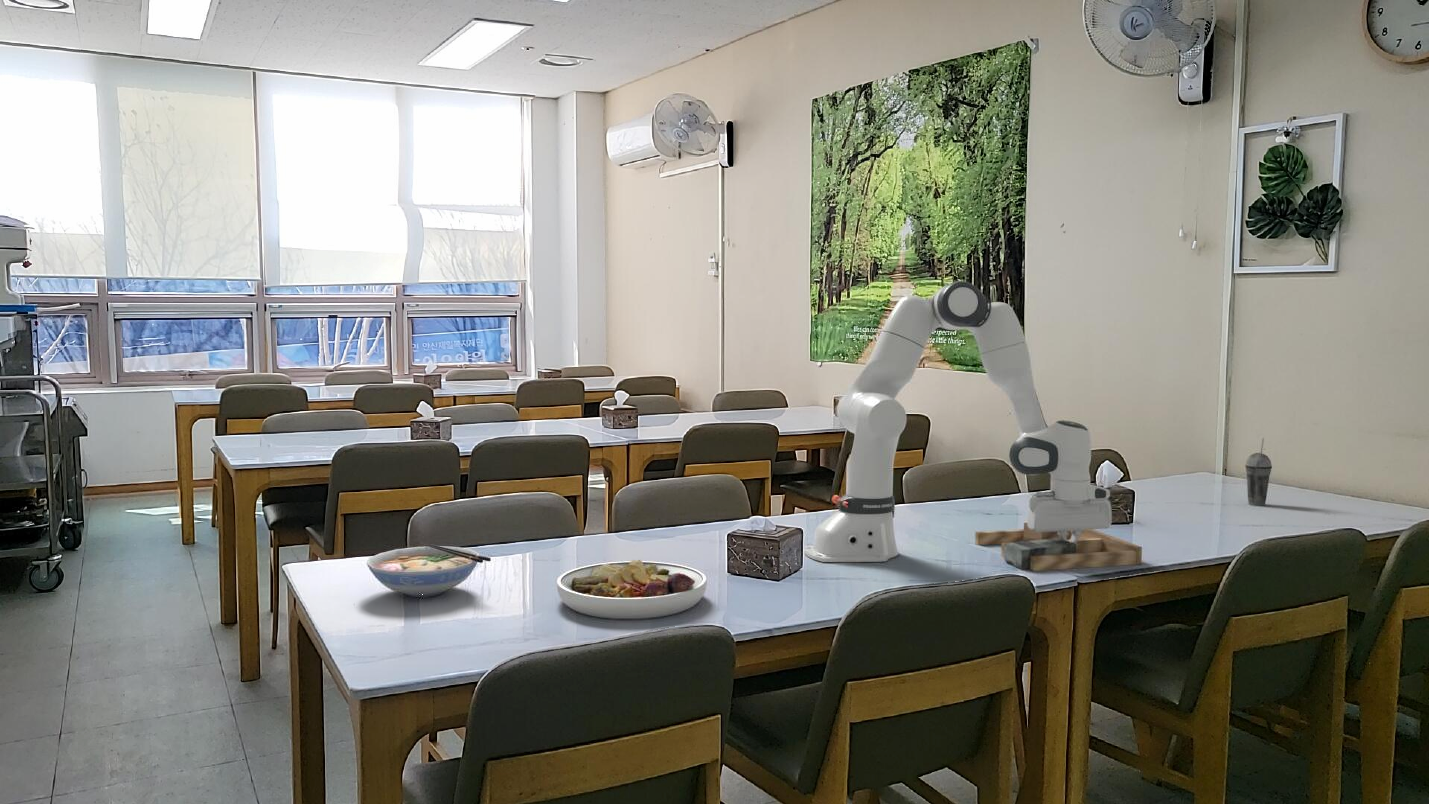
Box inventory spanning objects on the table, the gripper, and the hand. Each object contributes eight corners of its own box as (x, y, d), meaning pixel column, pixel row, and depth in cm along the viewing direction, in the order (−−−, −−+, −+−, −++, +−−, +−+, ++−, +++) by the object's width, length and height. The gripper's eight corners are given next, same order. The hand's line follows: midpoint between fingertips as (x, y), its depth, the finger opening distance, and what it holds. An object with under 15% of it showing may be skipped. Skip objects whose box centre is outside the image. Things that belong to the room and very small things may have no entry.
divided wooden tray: (1033, 570, 245) (1034, 553, 245) (975, 543, 273) (975, 527, 273) (1141, 564, 252) (1142, 547, 251) (1073, 538, 279) (1074, 522, 279)
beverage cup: (1237, 503, 329) (1240, 437, 327) (1257, 501, 331) (1260, 436, 329) (1256, 507, 322) (1259, 440, 320) (1276, 506, 324) (1279, 439, 322)
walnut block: (1041, 551, 265) (1041, 527, 264) (1023, 546, 270) (1024, 522, 270) (1059, 548, 268) (1059, 524, 267) (1041, 544, 273) (1041, 520, 272)
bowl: (525, 608, 216) (525, 569, 215) (620, 576, 241) (620, 541, 240) (646, 634, 199) (646, 591, 198) (734, 597, 224) (735, 559, 223)
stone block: (1000, 561, 255) (1000, 539, 254) (1054, 557, 259) (1054, 536, 258) (1021, 570, 246) (1021, 547, 246) (1076, 566, 250) (1077, 543, 250)
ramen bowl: (344, 591, 227) (343, 553, 226) (442, 572, 243) (441, 536, 242) (404, 616, 209) (403, 574, 208) (505, 594, 225) (504, 555, 224)
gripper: (1037, 494, 249) (1035, 554, 250) (1116, 490, 254) (1114, 549, 255) (1022, 490, 255) (1021, 548, 256) (1100, 486, 260) (1099, 543, 261)
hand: (1068, 548), depth 255 cm, fingers closed
